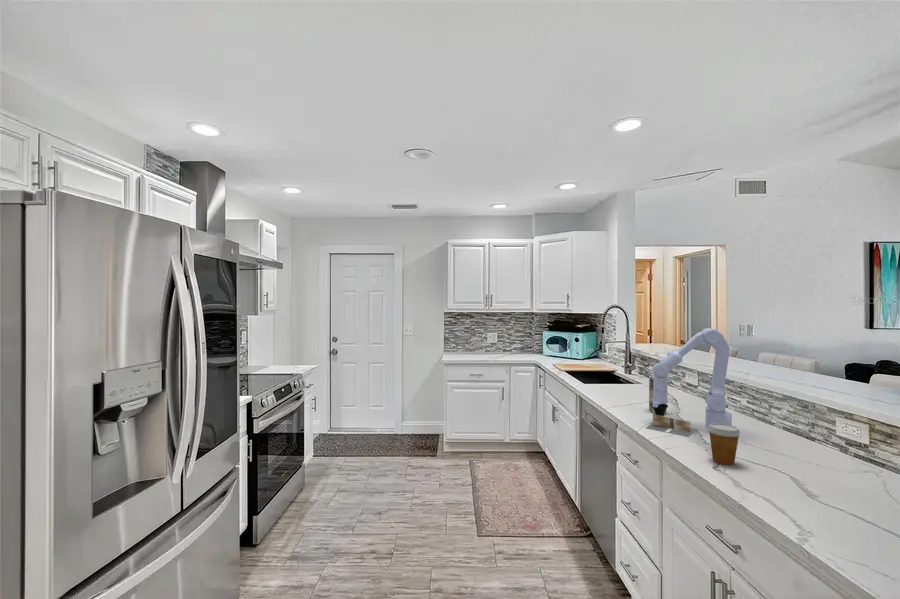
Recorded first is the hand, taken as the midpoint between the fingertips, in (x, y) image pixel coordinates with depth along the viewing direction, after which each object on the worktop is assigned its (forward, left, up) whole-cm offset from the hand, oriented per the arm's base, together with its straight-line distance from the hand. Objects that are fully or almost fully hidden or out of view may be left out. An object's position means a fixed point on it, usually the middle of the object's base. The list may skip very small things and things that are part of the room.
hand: (659, 420), depth 192 cm
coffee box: (+8, -24, -2) cm, 25 cm away
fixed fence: (-10, +4, -2) cm, 11 cm away
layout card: (-6, +5, -2) cm, 8 cm away
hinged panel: (-3, +4, -1) cm, 5 cm away
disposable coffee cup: (-30, +32, -2) cm, 44 cm away
